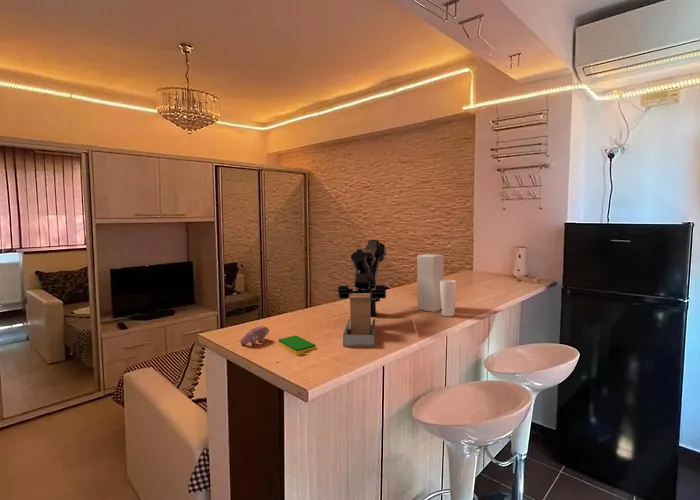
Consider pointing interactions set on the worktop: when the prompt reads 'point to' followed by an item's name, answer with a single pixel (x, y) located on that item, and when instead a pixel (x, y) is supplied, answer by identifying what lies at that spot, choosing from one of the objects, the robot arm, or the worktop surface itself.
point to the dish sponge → (296, 345)
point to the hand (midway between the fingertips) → (361, 310)
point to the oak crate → (360, 313)
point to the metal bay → (358, 337)
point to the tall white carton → (429, 281)
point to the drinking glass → (448, 297)
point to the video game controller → (255, 335)
